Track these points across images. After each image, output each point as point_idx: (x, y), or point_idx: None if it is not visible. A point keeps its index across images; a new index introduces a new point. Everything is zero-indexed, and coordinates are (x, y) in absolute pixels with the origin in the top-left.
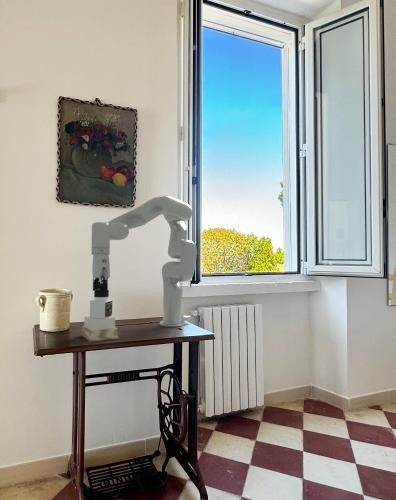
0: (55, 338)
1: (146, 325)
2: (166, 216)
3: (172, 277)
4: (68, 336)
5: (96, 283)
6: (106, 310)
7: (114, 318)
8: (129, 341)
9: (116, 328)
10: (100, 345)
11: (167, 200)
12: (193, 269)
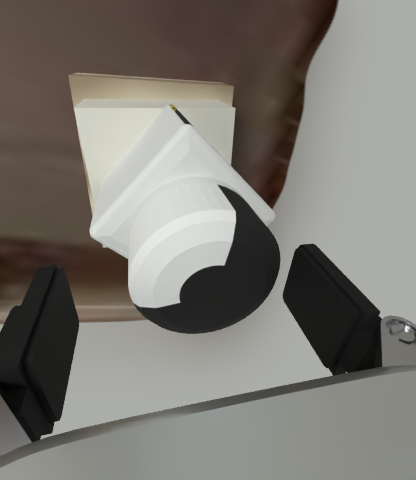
0: (112, 285)
1: None
2: None
3: None
4: (95, 250)
5: (53, 376)
6: (246, 182)
7: (233, 112)
8: (302, 62)
9: (223, 92)
10: (282, 186)
11: None
12: None
